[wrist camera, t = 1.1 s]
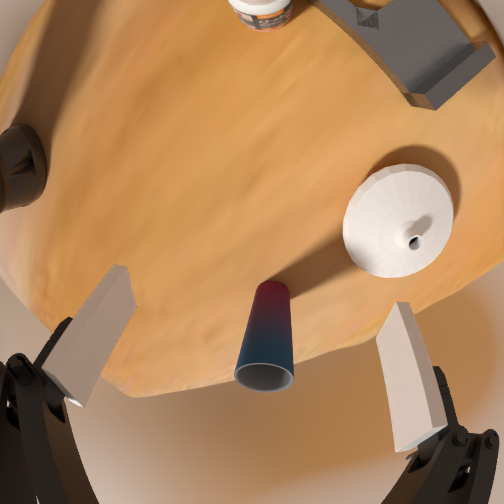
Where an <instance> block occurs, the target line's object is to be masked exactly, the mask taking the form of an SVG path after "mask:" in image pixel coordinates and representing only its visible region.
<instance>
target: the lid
mask: <svg viewBox="0 0 504 504" xmlns="http://www.w3.org/2000/svg"><path fill="white" fill-rule="evenodd" d="M453 220H454V206H453V202H452V198H451V194H450V191H449V190H448V188H447V186H446V185H445V183H444V181H443V180H442V179H441V178H440V177H439V176H438V175H437V174H435V173H434V172H433V171H432V170H429V169H427V168H425V167H423V166H420V165H414V164H398V165H393V166H388V167H385V168H383V169H381V170H379V171H377V172H375V173H373V174H371V175H370V176H369V177H368V178H367V179H366V180H365V181H364V182H363V183H362V184H360V185H359V187H358V188H357V190H356V191H355V193H354V194H353V196H352V197H351V199H350V201H349V204H348V207H347V210H346V213H345V216H344V222H343V238H344V243H345V248H346V250H347V252H348V253H349V255H350V257H351V259H352V260H353V261H354V262H355V263H356V264H357V265H358V266H359V267H360V268H361V269H362V270H364V271H366V272H368V273H370V274H372V275H375V276H380V277H384V278H392V277H403V276H407V275H410V274H413V273H415V272H417V271H419V270H421V269H423V268H425V267H426V266H427V265H428V264H430V263H431V262H432V261H433V260H435V258H436V257H437V256H438V255H439V253H440V252H441V251H442V250H443V248H444V246H445V244H446V242H447V240H448V238H449V236H450V233H451V229H452V225H453Z"/></svg>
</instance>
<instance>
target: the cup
mask: <svg viewBox="0 0 504 504" xmlns="http://www.w3.org/2000/svg"><path fill="white" fill-rule="evenodd" d="M234 377H235V380H236V381H237V382H238V383H239V384H240V385H241V386H243V387H245V388H247V389H250V390H253V391H258V392H277V391H281V390H284V389H286V388H288V387H290V386H291V385H292V384H293V382H294V366H293V346H292V328H291V312H290V297H289V290H288V288H287V287H286V286H285V285H284V284H283V283H281V282H278V281H266V282H263V283H262V284H260V285H259V286H258V288H257V290H256V294H255V297H254V301H253V305H252V309H251V313H250V316H249V320H248V324H247V328H246V332H245V335H244V339H243V343H242V347H241V350H240V354H239V358H238V362H237V365H236V369H235V373H234Z"/></svg>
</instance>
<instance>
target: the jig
mask: <svg viewBox="0 0 504 504" xmlns="http://www.w3.org/2000/svg"><path fill="white" fill-rule="evenodd" d="M308 1H309V2H310V3H312V4H313V5H314V6H316V7H317V8H318V9H319V10H321V11H322V12H323V13H324V14H326V15H327V16H328V17H329V18H330V19H331V20H333V21H334V22H335V23H336V24H337V25H338V26H339V27H341V28H342V29H343V30H344V31H345V32H346V33H347V34H348V35H349V36H350V37H351V38H352V39H354V40H355V41H356V42H357V43H358V44H359V45H360V46H361V47H362V48H363V49H364V50H365V51H366V53H367V54H368V55H369V56H370V57H371V58H372V59H373V60H374V61H375V62H376V63H377V64H378V65H379V67H380V68H381V69H382V70H383V71H384V72H385V73H386V75H387V76H388V77H389V78H390V79H391V81H392V82H393V83H394V84H395V85H396V87H397V88H398V89H399V90H400V92H401V93H402V94H403V96H404V97H405V98H406V99H407V101H408V102H409V104H410V105H411V106H414V107H420V108H425V109H430V110H435V111H436V110H437V109H438V108H439V107H440V106H442V105H443V104H444V103H445V102H446V101H447V100H448V99H450V98H451V97H452V96H453V95H454V94H455V93H456V92H457V91H459V90H460V89H461V88H462V87H463V86H464V85H465V84H467V83H468V82H469V81H470V80H471V79H472V78H473V77H474V76H475V75H477V74H478V73H479V72H480V71H481V70H482V69H483V68H484V67H486V66H487V65H488V64H489V63H490V62H491V61H492V60H493V59H494V58H495V57H496V56H495V54H494V52H493V51H492V49H491V47H490V46H489V44H488V43H487V42H477V43H470V42H469V40H468V39H467V37H466V36H465V35H464V33H463V32H462V30H461V29H460V28H459V26H458V25H457V24H456V23H455V21H454V20H453V19H452V17H451V16H450V15H449V14H448V13H447V11H446V10H445V9H444V8H443V7H442V5H441V4H440V3H439V2H438V1H437V0H393V1H392V2H390V3H388V4H387V5H385V6H384V7H382V8H381V9H379V10H378V11H375V10H371V9H365V8H360V7H355V6H354V5H353V4H352V3H351V2H349V1H348V0H308Z"/></svg>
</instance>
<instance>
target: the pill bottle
mask: <svg viewBox="0 0 504 504" xmlns="http://www.w3.org/2000/svg"><path fill="white" fill-rule="evenodd" d="M228 1H229V3H230V4H231V6H232V7H233V9H234V10H235V12H236V13H237V15H238V17H239V18H240V20H241V21H242V22H243V23H244V24H245V25H246V26H247V27H249V28H251V29H253V30H256V31H262V32H268V31H274V30H277V29H279V28H281V27H283V26H284V25H285V24H286V23H287V22H288V21H289V19H290V17H291V13H292V3H293V0H228Z"/></svg>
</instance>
